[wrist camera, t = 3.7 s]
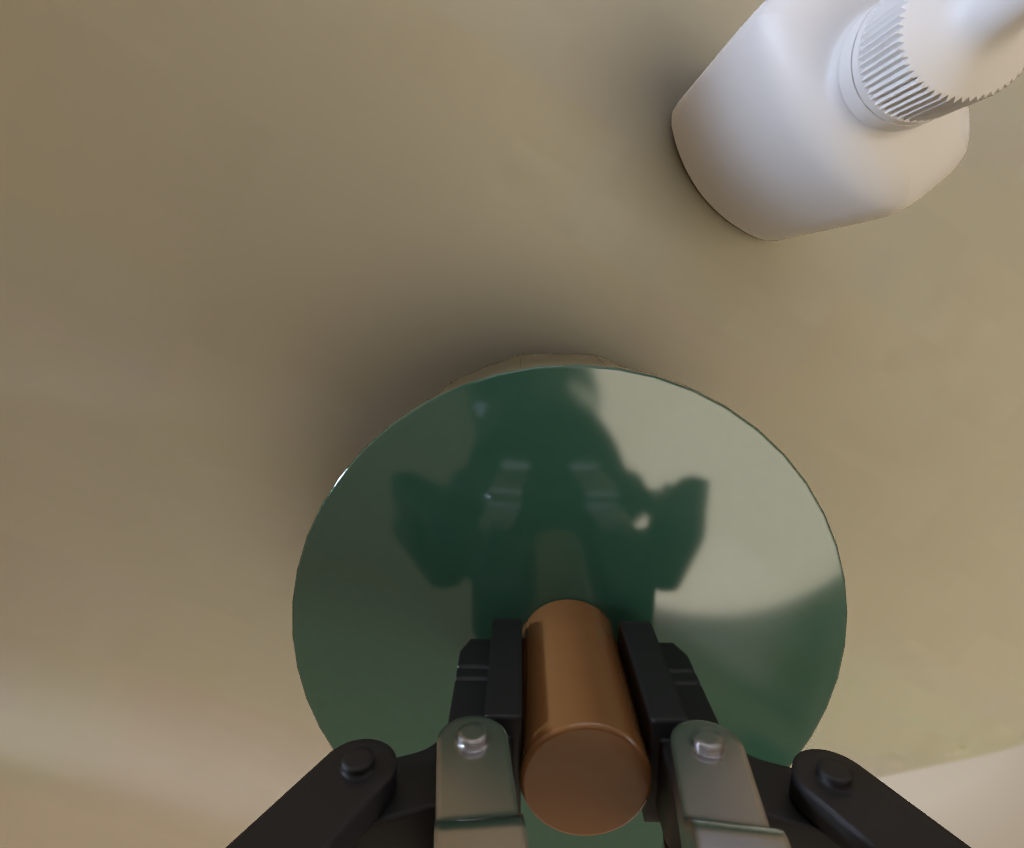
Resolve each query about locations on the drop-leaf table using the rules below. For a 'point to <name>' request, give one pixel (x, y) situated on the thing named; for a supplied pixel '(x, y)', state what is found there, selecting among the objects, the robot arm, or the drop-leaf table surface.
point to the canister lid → (571, 580)
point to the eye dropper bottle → (841, 107)
